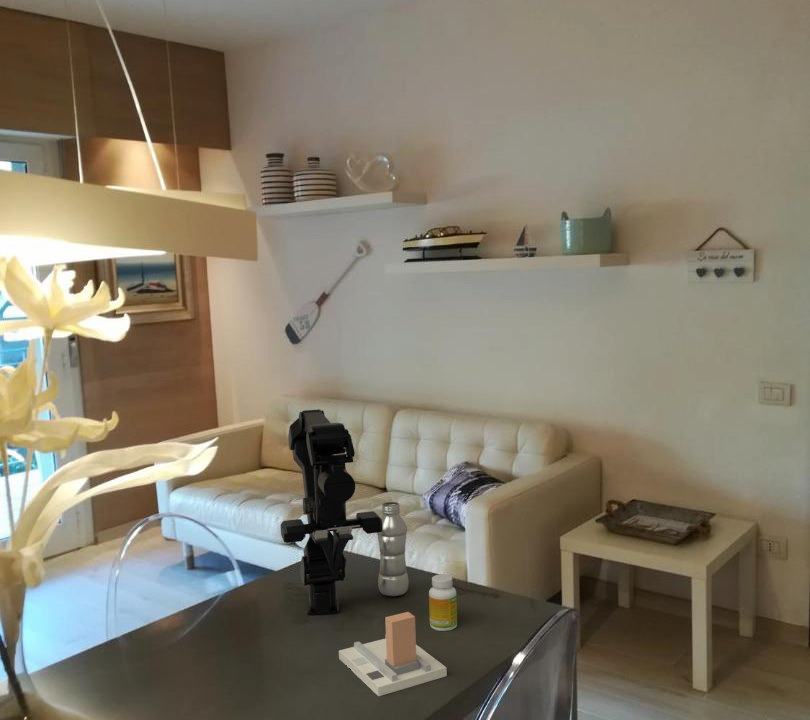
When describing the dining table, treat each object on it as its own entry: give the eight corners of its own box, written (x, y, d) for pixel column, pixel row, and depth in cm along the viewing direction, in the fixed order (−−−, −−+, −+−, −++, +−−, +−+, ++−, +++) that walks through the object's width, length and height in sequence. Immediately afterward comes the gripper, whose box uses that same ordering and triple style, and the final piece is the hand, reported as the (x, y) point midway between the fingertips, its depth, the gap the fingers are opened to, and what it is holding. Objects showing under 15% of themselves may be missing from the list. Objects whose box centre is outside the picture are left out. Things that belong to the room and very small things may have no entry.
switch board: (339, 658, 146) (338, 645, 146) (402, 641, 152) (402, 628, 152) (378, 696, 132) (377, 681, 132) (446, 676, 138) (446, 661, 138)
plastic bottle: (381, 588, 180) (377, 500, 178) (411, 588, 179) (408, 500, 177) (375, 599, 174) (372, 508, 172) (407, 600, 173) (404, 508, 171)
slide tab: (385, 666, 139) (383, 615, 139) (407, 659, 141) (405, 610, 141) (395, 675, 136) (394, 624, 135) (418, 669, 138) (417, 618, 137)
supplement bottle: (455, 632, 156) (453, 583, 155) (427, 631, 157) (426, 582, 156) (459, 621, 161) (457, 573, 160) (432, 619, 162) (430, 572, 161)
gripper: (368, 476, 163) (371, 552, 165) (275, 485, 158) (279, 563, 160) (381, 489, 153) (384, 569, 154) (282, 499, 148) (286, 582, 149)
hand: (333, 570), depth 155 cm, fingers closed
